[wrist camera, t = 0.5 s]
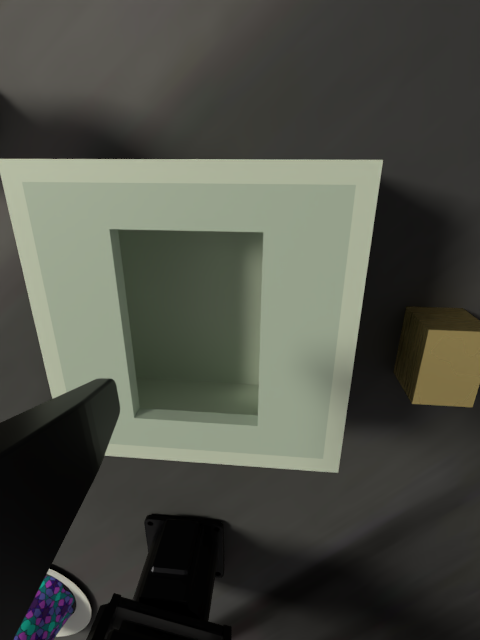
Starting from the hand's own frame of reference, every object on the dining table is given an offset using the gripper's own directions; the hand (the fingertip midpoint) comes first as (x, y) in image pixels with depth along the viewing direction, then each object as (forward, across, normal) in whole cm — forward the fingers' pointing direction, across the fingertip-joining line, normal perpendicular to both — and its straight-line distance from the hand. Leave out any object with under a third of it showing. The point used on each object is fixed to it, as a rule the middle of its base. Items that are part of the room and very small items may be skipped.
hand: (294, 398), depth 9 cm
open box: (+13, +4, +1) cm, 14 cm away
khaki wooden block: (+14, -9, +5) cm, 17 cm away
